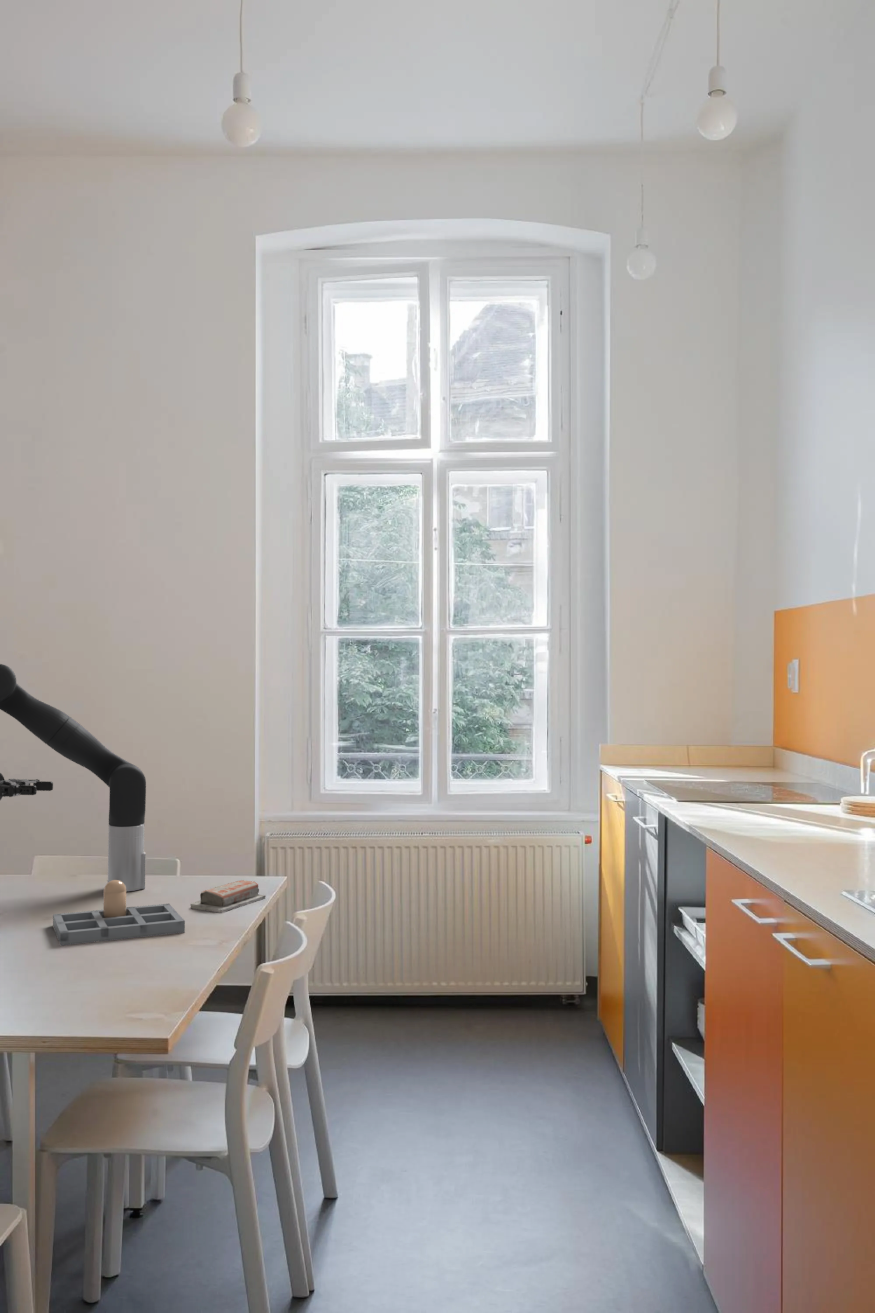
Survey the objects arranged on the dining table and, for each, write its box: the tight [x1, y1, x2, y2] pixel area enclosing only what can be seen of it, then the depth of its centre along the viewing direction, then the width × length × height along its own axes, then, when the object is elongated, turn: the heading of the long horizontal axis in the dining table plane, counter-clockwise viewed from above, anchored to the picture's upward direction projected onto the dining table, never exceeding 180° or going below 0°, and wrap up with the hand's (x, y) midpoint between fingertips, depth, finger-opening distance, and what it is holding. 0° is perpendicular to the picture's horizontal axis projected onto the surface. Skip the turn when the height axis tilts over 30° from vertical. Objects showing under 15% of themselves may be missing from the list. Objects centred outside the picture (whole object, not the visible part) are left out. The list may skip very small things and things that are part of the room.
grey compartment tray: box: [52, 903, 186, 946], centre depth 223 cm, size 26×18×3 cm
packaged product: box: [190, 879, 267, 914], centre depth 249 cm, size 18×5×10 cm
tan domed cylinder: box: [102, 880, 127, 918], centre depth 226 cm, size 5×5×10 cm
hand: (44, 788), depth 238 cm, fingers open, 8 cm apart
